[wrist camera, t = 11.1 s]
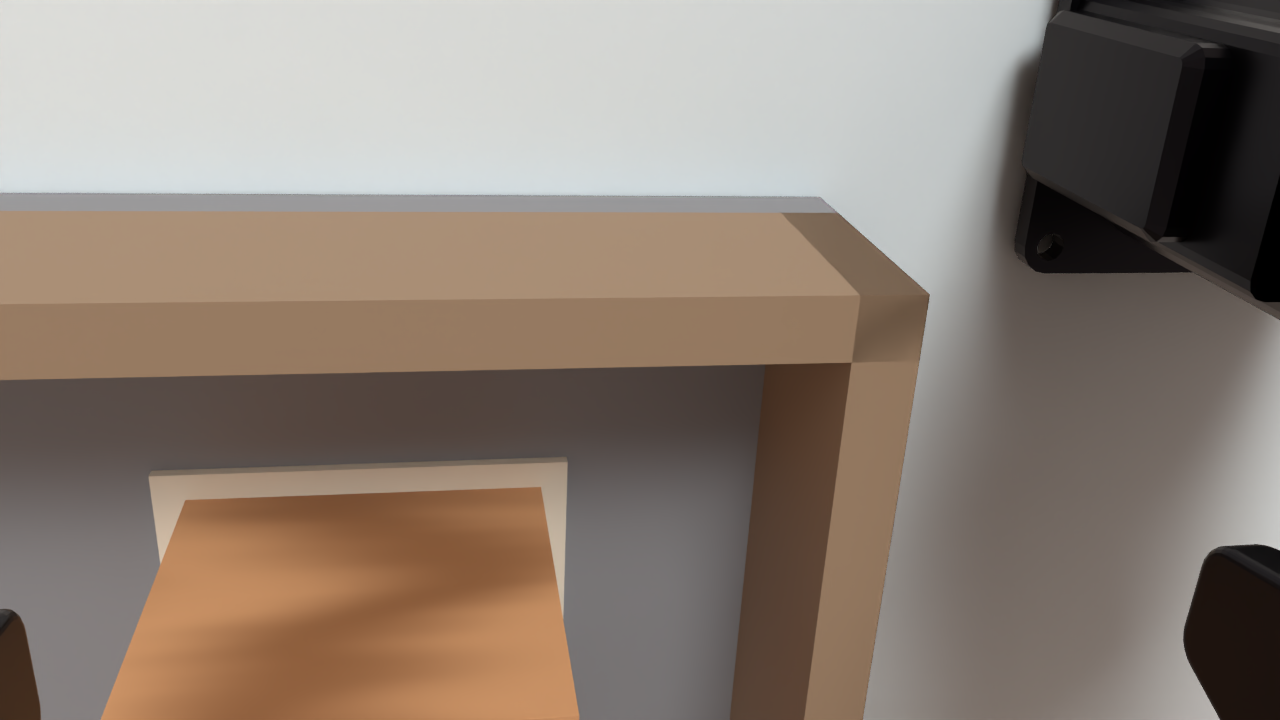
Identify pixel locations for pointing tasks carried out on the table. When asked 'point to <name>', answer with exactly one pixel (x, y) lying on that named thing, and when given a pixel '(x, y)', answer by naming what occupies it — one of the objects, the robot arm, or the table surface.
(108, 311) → the arena
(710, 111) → the table surface
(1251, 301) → the robot arm
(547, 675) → the block
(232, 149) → the table surface
